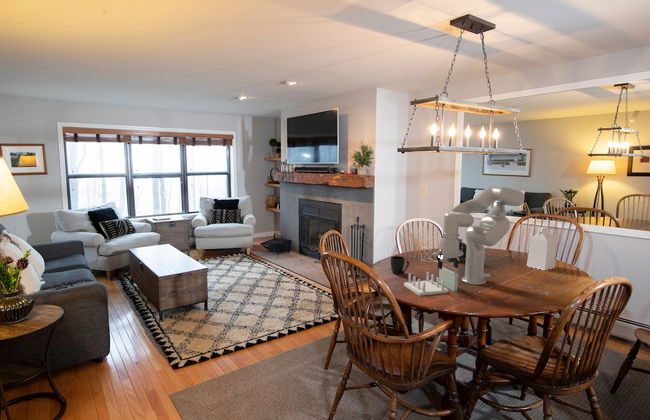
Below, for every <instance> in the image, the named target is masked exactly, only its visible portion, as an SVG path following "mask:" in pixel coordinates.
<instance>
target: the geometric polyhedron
mask: <svg viewBox="0 0 650 420" xmlns="http://www.w3.org/2000/svg"><path fill="white" fill-rule="evenodd" d="M427 247H428V248H427ZM429 247H430V246H427V245H426V246H425V245H421V248H422V250H423V251H424V252H425V256H424V257H423V256H422V255H423V254H421V259H420V261H421V262H424V261H426V262H430V263H431V262H432V261H433V262H435V263H438V260H437V259H436V258H435V255H434V252H437V251H438V249H439V246H436V247H433V248H431V249H429ZM425 249H427V250H428V252H426V250H425ZM434 249H435V251H434V252H433V251H432V250H434ZM430 252H431V255H428V254H429V253H430ZM426 256H427V258H426ZM432 256H434V258H435V259H436V260H435V259H434V260H433V258H431V257H432ZM428 259H430V261H428ZM431 260H432V261H431Z"/></svg>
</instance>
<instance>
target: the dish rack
mask: <svg viewBox="0 0 650 420" xmlns="http://www.w3.org/2000/svg"><path fill="white" fill-rule="evenodd" d="M429 277H430V271H426V279H425V280H422V279H421V278H418V279H417V281H416V278H417V276H416V275H415V276H414V275H413V276H412V273H408V282H407V281H406V282H403V286H404V287H406V288H407V289H409V290H410V291H412V292H413V293H414V294H416V295H417V296H431V295H438V294H448V293H449V291H450V289H449V288H447V287H445V286H444V281H445V280H442V284H440V283H439V276H437V277H436V281H434V280H435V274H431V279H430V280H429Z"/></svg>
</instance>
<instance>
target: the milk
mask: <svg viewBox="0 0 650 420" xmlns="http://www.w3.org/2000/svg"><path fill="white" fill-rule="evenodd" d="M528 247H529V248H528V255H527V260H526V261H527V262H526V267H527V266H528V267H529V268H531V267H532V269H535V268H537V269H536V270H539V269H541V271H543V270H546V271H549V270H548V269H550V270H552V268H553V269H555V268H556V254H557V253H556V250H557V249H556V247H557V239H556V237H555V236H554V235H553V234H552V233H551V232H550V231H549V227H548V226H542V227H540V229H539V232H537V233H535V235H533V236H532V237H530V241H529V246H528ZM528 267H527V268H528Z"/></svg>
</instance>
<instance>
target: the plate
mask: <svg viewBox="0 0 650 420" xmlns="http://www.w3.org/2000/svg"><path fill="white" fill-rule="evenodd" d="M438 269H439V268H438ZM438 274H439V275H438V277H439V285H442V280H445V281H444V287H445V288H446V289H448V290H451V291H453V292H458V286H459V274H458V273H456V272H454V271H452V270H450V269H448V268H446V267H444V266H442V269H439V271H438Z"/></svg>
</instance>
